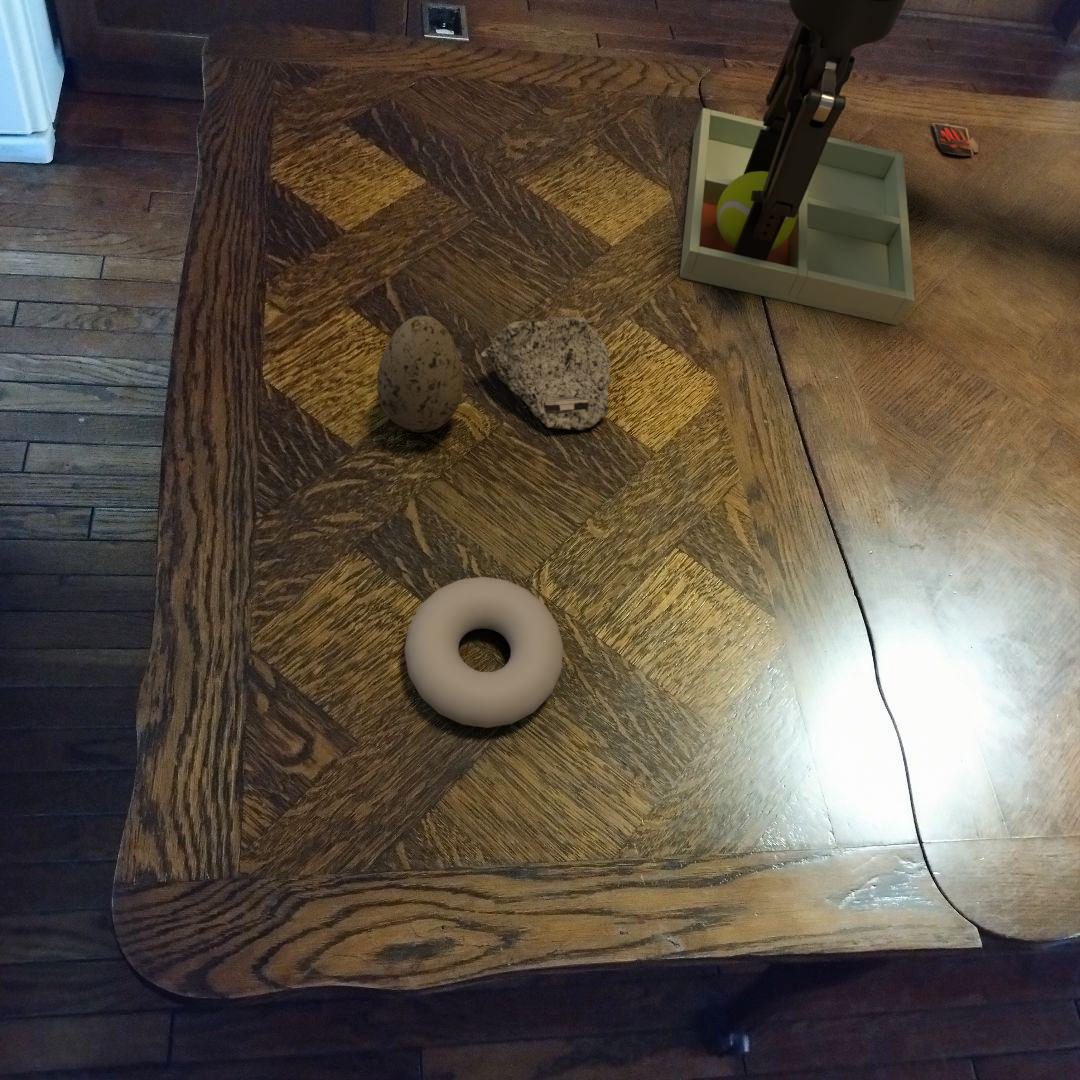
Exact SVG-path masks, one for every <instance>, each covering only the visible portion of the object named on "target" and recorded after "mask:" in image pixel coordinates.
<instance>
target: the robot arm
mask: <svg viewBox="0 0 1080 1080" xmlns="http://www.w3.org/2000/svg"><path fill="white" fill-rule="evenodd" d="M906 1H907V0H788V2H789V7H790V9H791V12H792V14H793V15H794V16H795V18H796V19H797V20H798V22H797V24H796V27H795V29H794V31H793V34H792V36H791V39H790V41H789V43H788V46H787V48H786V51H785V53H784V55H783V58H782V60H781V63H780V65H779V68H778V70H777V72H776V75H775V77H774V80H773V82H772V85H771V87H770V89H769V91H768V94H766V97H765V105H766V107H768V108H767V110H766V111H765V113H764V114H763V116H762V117H763V118H762V122H763V126H767V128H766V130H763V129H761V130H760V133H759V135H758V138H757V141H756V143H755V146H754V148H753V151H752V153H751V156H750V159H749V161H748V164H747V166H746V169H745V172H744V174H747V173H749V172H756V171H765V172H769V173H768V176H767V179H766V182H765V185H764V188H763V191H759V190H758V191H754V190H753V191H752V195H751V201H754V202H753V205H752V207H751V210H750V212H749V215H748V217H747V219H746V222H745V224H744V227H743V229H742V232H741V234H740V237H739V239H738V241H737V244H736V246H735V249H734V251H733V254H737V255H741V256H746V257H750V258H755V259H759V260H763V261H766V260H767V257H768V255H769V253H770V251H771V249H772V246H773V244H774V242H775V240H776V238H777V235H778V233H779V231H780V229H781V226H782V224H783V222H784V220H785V218H786V217H791V218H795V217H796V214H797V213H798V211H799V207H800V205H801V202H802V200H803V198H804V195H805V193H806V190H807V188H808V186H809V183H810V181H811V179H812V176H813V174H814V171H815V169H816V167H817V164H818V162H819V159H820V157H821V155H822V152H823V150H824V148H825V145H826V143H827V140H828V138H829V137H831V133H832V131H833V129H834V127H835V126H836V123H837V122H838V120H839V118H840V116H841V114H842V112H843V111H844V110H845V108H846V105H847V103H846V101H847V97H846V95H840V94H841V91H842V89H843V86H844V85H845V84H846V83H847V82H848V81H849V79H850V77H851V74H852V71H853V69H854V68H853V67H854V64H855V59H856V57H855V56H853V55H852V52H853V50H855V49H857V48H859V47H861V46H864V45H868V44H874V43H877V42H879V41H881V40H883V39H884V38H886V37H887V36H888V35H889V34H890V33H891V32H892V30H893V28H894V26H895V24H896V22H897V20H898V18H899V16H900V13H901V11H902V9H903V7H904V5H905V3H906ZM744 174H743V175H744Z"/></svg>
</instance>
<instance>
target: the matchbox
mask: <svg viewBox="0 0 1080 1080" xmlns="http://www.w3.org/2000/svg"><path fill="white" fill-rule="evenodd" d="M929 126H932V127H933V129H934V133H935V136H936V138H934V139H935V141H937V144H938V145H939V147H940V149H941V150H942V152H943V153H945V154H951V155H956V156H964V157H967V156H974V153H976V154H977V153H979V152H980V149H981V147H980V145H979V143H977V141H976V140H975V139H974V137H971V136H970V135H969V129H968V127H964V126H959V125H952V124H949V123H948V122H945V123H939V122H933V123H932V122H930V123H929Z"/></svg>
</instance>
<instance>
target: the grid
mask: <svg viewBox="0 0 1080 1080" xmlns="http://www.w3.org/2000/svg"><path fill="white" fill-rule="evenodd" d="M766 128H767V126H763V120H762V121H761V120H757V119H753V118H749V117H744V116H740V115H736V114H733V113H727V112H723V111H718V110H715V109H714V110H713V109H710V108H706V107H702V109H701V112H700V116H699V118H698V121H697V124H696V127H695V130H694V133H693V138H692V150H691V157H690V158H691V159H690V168H689V180H688V189H687V197H686V209H685V219H684V230H683V238H682V247H681V248H682V250H681V259H680V268H679V278H680V279H684V280H689V281H693V282H699V283H702V284H708V285H710V286H711V285H712V286H715V287H720V288H725V289H730V290H734V291H737V292H738V291H739V292H744V293H748V294H752V295H756V296H761V297H767V298H771V299H775V300H779V301H783V302H788V303H793V304H797V305H803V306H806V307H812V308H816V309H820V310H824V311H825V310H826V311H829V312H833V313H839V314H842V315H848V316H851V317H856V318H861V319H865V320H870V321H875V322H878V323H879V322H880V323H884V324H888V325H893V326H897V327H898V326H899V325H900V323H902V321H903V319H904V317H905V316H906V314H907V313H908V311H909V310H910V309H911V307H912V305H913V304H914V303H915V299H916V298H915V287H914V274H913V273H914V272H913V261H912V260H913V259H912V250H911V249H912V247H911V236H910V223H909V210H908V198H907V186H906V185H907V184H906V172H905V162H904V153H901V152H898V151H892V150H887V149H883V148H880V147H876V146H871V145H866V144H861V143H858V142H854V141H848V140H845V139H840V138H837V137H836V138H835V137H832V136H829V138H828V140H827V143H826V145H825V148H824V150H823V152H822V155H821V157H820V159H819V162H818V164H817V167H816V169H815V171H814V174H813V176H812V179H811V181H810V183H809V186H808V188H807V190H806V193H805V195H804V198H803V200H802V202H801V205H800V207H799V211H798V213H797V219H796V222H795V225H794V228H793V230H792V232H791V233H790V235H789V236H788V238H787V239H786V240H785V241H784V242H783V243H782V244H781V245H780V246H778V247H777V248H775V249H773V250H771V251H770V253H769V255H768V257H767V260H766V261H763V260H759V259H755V258H750V257H746V256H741V255H737V254H733V251H734V248H732V247H731V246H730V245H729V244H727V243H726V241H725V240H724V239H723V237H722V236H721V234H720V232H719V229H718V226H717V219H716V213H717V206H718V202H719V199H720V197H721V195H722V193H723V191H724V190H725V189H726V188H727V186H728V185H729V184H730V183H731V182H732V181H734V180H735V179H736V178H738V177H739V176H741V175H743V174H744V172H745V169H746V166H747V164H748V161H749V159H750V156H751V153H752V151H753V148H754V146H755V143H756V141H757V138H758V135H759V133H760V130H761V129H763V130H766Z"/></svg>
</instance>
